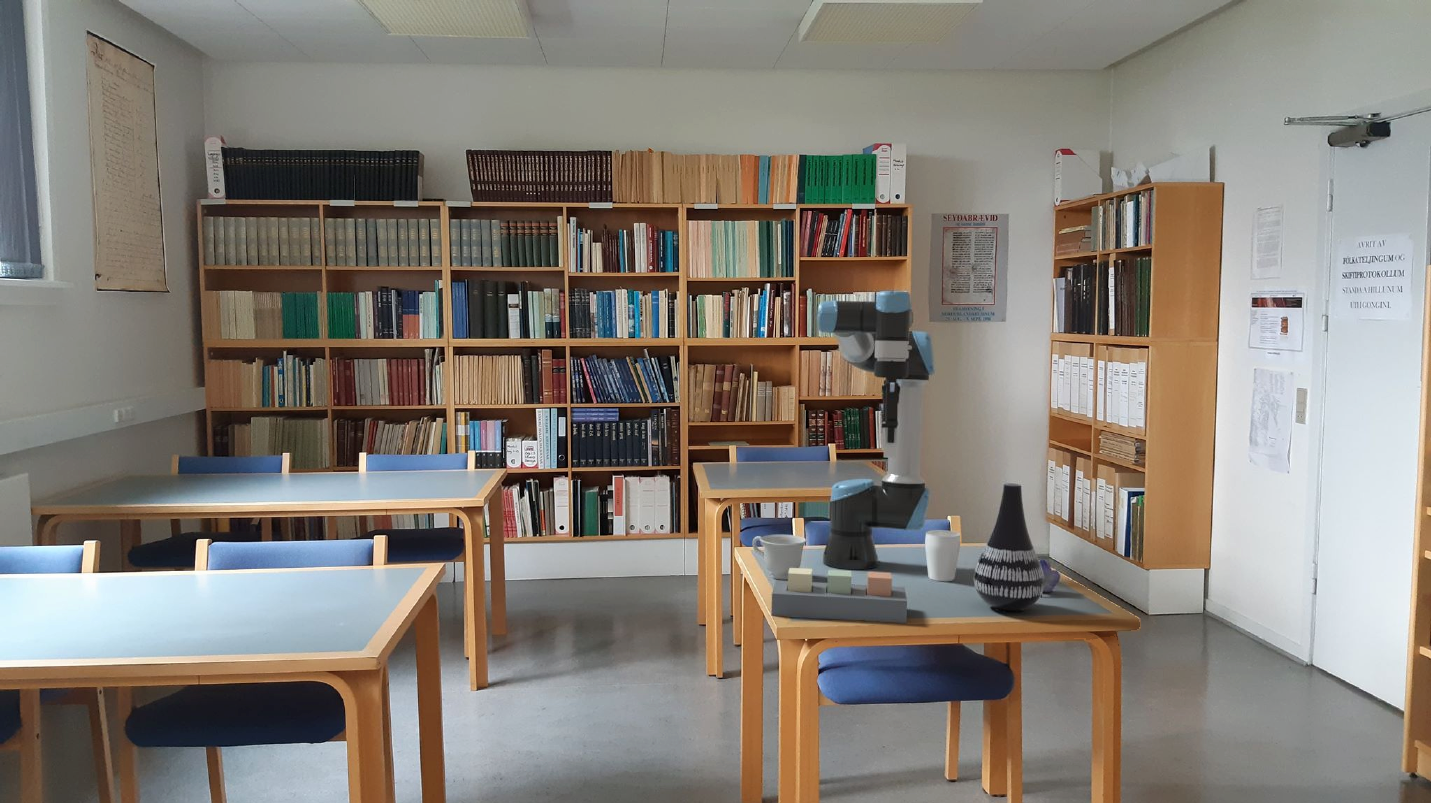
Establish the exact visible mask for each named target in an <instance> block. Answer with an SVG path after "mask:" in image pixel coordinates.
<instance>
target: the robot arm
mask: <svg viewBox="0 0 1431 803" xmlns="http://www.w3.org/2000/svg"><path fill="white" fill-rule="evenodd" d="M911 307H912V303H911V294H910V292H909V291H906V290H905V291H903V290H881V291H879V292H878V293H877V296H876V301H875V300H874V301H866V300H865V301H860V300H859V301H854V300H850V301H849V300H836V299H835V300H828V301H827V300H826V301H821V302H820V303H819V305H818V308H817V321H816V322H817V328H818V331H819V332H820V333H828V334H833V335H834V336H835V339H836V340H837V342H838V350H839V352H840V353H839V354H840V355H841V357H842V358H843V359H844V360H845V361H846V362H847V363H849V365H851V366H853V367H855V368H857V369H859V370H862V371H865V372H868V373H873V374H874V377H876V378H880V379H881V378H883V379H884V381H883V385H881V394H882V395H881V396H882V398H881V399H882V400H881V401H882V403H883V405H882V414H881V416H882V424H881V425H882V426H881V428H882V429H881V451H883V458H887V473H886V475H884V477H883V478H882V479H881V485H876V484H875V482H874V479H872V478H855V479H853V478H852V479H847V480H842V481H838V482H835V483H834V484H833V485H832V486H831V491H830V492H831V493H830V500H829V501H830V521H829V522H830V525H829V528H830V529H829V536H828V539H827V542H826V545H825V549H824V551H823V554H822V563H823V564H824V565H826V566H827V567H828V566H829V567H831V568H837V569H842V570H843V569H845V570H869V569H873V568H876V567H877V566H878V565H879V555H878V553H877V550H876V549H877V548H876V546H875V542H874V539H873V538H874V537H873V529H875V528H876V529H889V530H890V529H891V530H904V531H919V530H922V529H923V528H924V526H925V524H926V518H927V514H928V507H929V501H930V495H931V489H930V488H928V487H926V481H925V479H924V478H923V477H922V476H921V475H920V474H921V473H920V472H921V448H922V447H921V446H922V444H921V443H922V421H923V420H922V417H923V416H922V415H923V390H924V386H926V384H928V383H929V382H930V376H932V375H935V360H934V349H933V343H932V342H933V341H932V337H931V335H930V334H929V333H928V332H926V331H918V330H917V331H916V330H910V329H911V327H912V325H913V323H914V312H913V310H912V308H911Z"/></svg>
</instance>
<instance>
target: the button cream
mask: <svg viewBox="0 0 1431 803" xmlns="http://www.w3.org/2000/svg"><path fill="white" fill-rule="evenodd" d="M787 581H788V591H798V592H812V582H813V568H801V567H799V568H789V572H788V579H787Z"/></svg>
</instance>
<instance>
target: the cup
mask: <svg viewBox="0 0 1431 803" xmlns="http://www.w3.org/2000/svg"><path fill="white" fill-rule="evenodd" d="M924 547H925V556H926V566H927V576H928V579H929V580H933V581H936V582H952V581H954V580H955V576H956V571H957V566H958V561H959V555H960V550H961V549H960V548H961V534H960V533H959V532H957V531H953V530H947V529H946V530H945V529H933V530H932V529H931V530H927V531H925V539H924Z"/></svg>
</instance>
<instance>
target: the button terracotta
mask: <svg viewBox="0 0 1431 803" xmlns="http://www.w3.org/2000/svg"><path fill="white" fill-rule="evenodd" d="M866 576H867V584H866V585H867V595H871V596H890V597H891V587H892V583H893V582H892V580H893V577H892V573H891V572H879V571H867V574H866Z"/></svg>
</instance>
